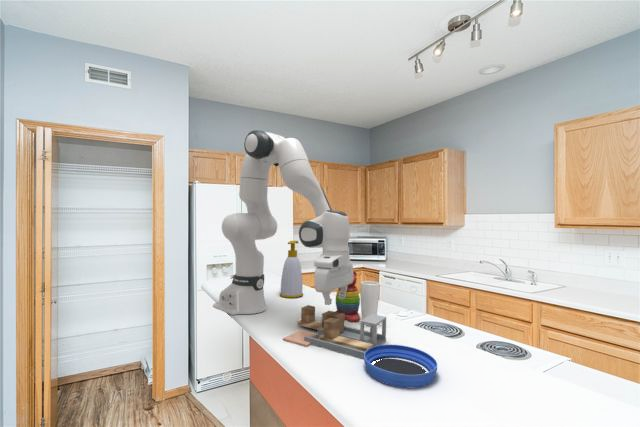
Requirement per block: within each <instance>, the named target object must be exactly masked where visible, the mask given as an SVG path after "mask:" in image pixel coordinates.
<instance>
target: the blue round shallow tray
mask: <svg viewBox="0 0 640 427" xmlns="http://www.w3.org/2000/svg"><path fill="white" fill-rule="evenodd" d="M379 359H380V361H378V362H377V361H376V360H379ZM381 359H382V360H381ZM363 360H364V365H365V370H366V372H367V373H368V374H369V376H370V377H372V378H373V379H375V380H376V379H377V380H376V381H378V380H379V381H378V382H380V381H381V383H383V382H384V384H386V383H387V385H389V386H392V385H393V387H397V386H399V387H398V388H405V387H415V388H420V387H419V386H422V387H425V386H428V385H430V384H431V383H432V382H433V381H434V379H435V375H436V374H437V372H438V362H437V360H436V359H435V358H434V356H432V355H431V354H429V353H428V352H425V351H423V350H421V349H418V348H416V347H415V348H414V347H411V346H407V345H403V344H402V345H401V344H382V345H378V346H374V347H371V348H369V349H368V350H367V351H366V352H365V353H364V359H363ZM373 361H376V363H375V364H374V365H372V364H371V363H372V362H373ZM422 368H423V369H422ZM424 368H425V369H424ZM426 370H427V371H428V372H427V371H426ZM425 372H427V373H425ZM427 384H428V385H427ZM424 385H425V386H424Z"/></svg>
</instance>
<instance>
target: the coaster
mask: <svg viewBox="0 0 640 427" xmlns="http://www.w3.org/2000/svg"><path fill="white" fill-rule="evenodd" d="M316 334H317V333H313V332H309V331H305V330H297V331H295V332H292V333H291V334H289V335H286V336H284V337H283V338H282V340H283V341H285V342H288V343H291V344H295V345H297V346H298V345H299V346H301V347H306V348H307V347H309V346H311V342H307V341H304V337H305V336H308V337H311V338H312V336H313V337H316V336H317V335H316ZM314 335H316V336H314ZM319 336H320V335H318V337H319ZM315 339H317V338H315Z"/></svg>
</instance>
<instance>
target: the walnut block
mask: <svg viewBox="0 0 640 427" xmlns="http://www.w3.org/2000/svg"><path fill="white" fill-rule="evenodd" d="M329 318H335V319H339V330H341V329H343V328H344V326H345V323H346V322H345V314H343V313H338V312H335V311H333V310H328V311H325V312H323V313H322V314H321V322H322V328H324V321H325V320H327V319H329Z"/></svg>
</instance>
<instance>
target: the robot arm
mask: <svg viewBox="0 0 640 427" xmlns="http://www.w3.org/2000/svg"><path fill="white" fill-rule="evenodd" d="M243 144H244V145H243V146H244V151H245V155H244V157H243V160H242V164H241V170H240V179H239V192H238V195H239V199H240V201H242V202H243V203H244V204H245V207H246V209H247V210H246V211H247V212H236V213H232V214H228V215H227V216H225V217H224V219H223V220H222V223H221V232H222V234H223V237H224V238H226V239H227V240H228V241H229V243H230V244H231V246H232V248H233V251H234V255H235V256H234V257H235V274H234V275H232V276H231V277H230V279H232V280H231V283H230V284H229V285H228V286H227V287H225V288H224V289H223V290H222V291H221V292H220V294H219V298H218V301H217V302H215V303H213V305H212V308H214V309H216V310H219V311H221V312H223V313H226V314H228V315H232V316H233V315H235V316H236V315H251V314H252V315H253V314H259V313H264V312H265V311H266V310H267V305H266V300H265V291H264V289H265V288H264V284H265V274H264V264H265V263H264V262H265V259H264V258H265V257H264V254H263V252H262V251H260V250H259V249H258V248H257V245H256V241H257V240H258V241H259V240H260V241H261V240H266V239H269V238H272V237H273V236H275V234H276V233H277V230H278V223H277V220H276V218H275V217H274V215H272V213H271V210H270V207H269V203H268V190H269V189H268V186H269V171H270V168H271V166H275V167H278V168H279V172H280V175H281V178H282V180H283V182H284V184H285V186H286V187H287V188H288V189H290V190H291V191H293V192H295V193H297V194H299V195H300V196H302V197H304V198H305V199H307V200H308V201H309V203H310V204H311V206H312V209H313V210H314V213H315V216H316V217H315V218H312V219H309V220H306V221H304V222H303V223H302V224H301V225H300V227H299V229H298V237H299V240H300V242H301V245H303V246H304V247H306V248H311V249H315V248H317V249H318V248H321V249H322V254H320V255H319V256H318V257H317V258H316V259H314V261H313V265H314V267H315V270H314V281H313V282H314V290H315V292H317V293H321V294H322V296H323V299H324V305H326V306H330V305H332V301H333V299H332V298H331V296H330V295H331V291H335V290H338V288H341V290H340V293H339V299H344V298H345V293H346V291H347V285H349V284H351V283H353V272H354V265H353V264H352V260H351V259H350V247H349V240H350V231H351V230H350V220H349V216H348V214H347V213H346V212H345V211H340V210H333V209H332V208H331V205H330V202H329V200H328V198H327V196H326V193H325V191H324V189H323V186H321V183H320V182H319V181H318V179H317V178H316V176H315V174H314V170H313V169H312V166H311V165H310V160H309V158H308V155H307V153H306V151H305V149H304V147H303V144H302V143H301V142H300V140H299V139H297V138H295V137H286V136H282V135H280V134H277V133H274V132H273V133H272V132H268V131H263V130H259V129H256V130H251V131H250V132H248V134H247V135H246V137H245V139H244V143H243Z"/></svg>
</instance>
